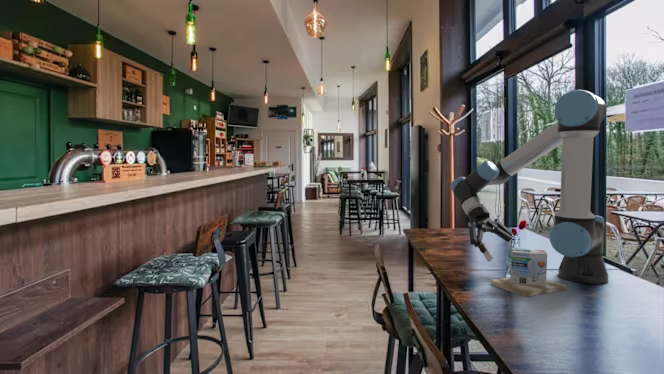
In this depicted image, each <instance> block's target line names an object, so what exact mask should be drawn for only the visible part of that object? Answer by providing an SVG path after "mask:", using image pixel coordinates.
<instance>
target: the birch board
mask: <svg viewBox="0 0 664 374" xmlns="http://www.w3.org/2000/svg"><path fill="white" fill-rule="evenodd" d="M490 285H492V286H494V287H497V288H501V289H503V290H506V291H508V292H511V293H514V294H515V295H519V296H521V297H524V298H528V297H533V296H538V295H539V296H540V295H543V294H544V295H545V294H551V293H554V292H562V291H566V290H567V287H566V286H567V285H566V284H563V283H560V282H556V281H554V280H549V279H547V278H546V287H542V286H534V285H525V284H516V283H511V279H510V276H508V277H501V278H494V279H491V280H490Z"/></svg>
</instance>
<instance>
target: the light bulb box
mask: <svg viewBox="0 0 664 374" xmlns="http://www.w3.org/2000/svg"><path fill="white" fill-rule="evenodd" d="M510 250H511V252H510V270H509V271H510V276H509V277H510V279H511V283H516V284H525V285H534V286H542V287H546V279H547V274H548V273H547V270H548V269H547V268H548V254H547V251H546V250H545V249H533V248H532V249H531V248H520V247H518V248H512V249H510Z"/></svg>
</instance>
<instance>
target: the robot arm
mask: <svg viewBox="0 0 664 374" xmlns="http://www.w3.org/2000/svg"><path fill="white" fill-rule="evenodd" d="M553 112H554V116H555V119H556V122H555V123H553V124H551V125H550V126H549V127H547V128H546V129H545V130H543V131H541V132H540V133H538V134H537V135H536V136H534V137H533V138H532V139H530V140H528V141H527V142H526V143H524V144H523V145H521V146H520V147H518V148H517V149H515V150H514V151H513V152H511V153H510V154H508V155H507V156H506V157H504V158H502V159H501V160H499V161H498V162H497V163H493V162H492V161H490V160H484V161H483V162H482V163H480V164H479V165H478V166H477V167H476V168H475V169H473V171H472V172H471V173H470V174H469V175H467V177H465V176H459V177H457V178H455V179H454V180H452V181H451V183H450V189H451V191H452V194H453V196H454V197H455V199H457V201H458V203H459V204H460V206H461V207H462V210H463V211H464V214H465V215H466V216H467V218H468V220H469V221H468V223H467V224H466V226H467V228H468V232H469V242H470V245H472V246H474V247H475V248H478V250H479V252H480V253H482V254H483V256H484V258H485V259H486V261H487V262H488V263H489V262H491V261H493V259H494V258H495V257H494V256H493V254H492V252H491V251H490V249H489V247H488V245H487V244H486V242H485V241H483V237H484V233H491V234H494V235H496V236H498V237H500V238H501V239H502V240H504V241H505V242H507V243H506V245H507V246H508V248H509V249H510V246H511V240H512V233H513V231H511V229H509V228H508V227H507V226H505V225H504V224H503V223H502V222H501V221H500V220H499V218H495V219H492V218H491V217H490V215H491V214H490V212H489V211H488V209H487V206H485V204H484V203H483V201H482V200H481V199H480V197H479V195H478V193H480V192H481V191H482V190H483V189H484V188H486V187H487V186H493V185H494V186H495V185H497V186H499V185H502V184H505V183H506V182H508V181H509V179H510V178H512V177H513V176H514V175H516V174H517V173H519V172H520V171H522V170H524V169H525V168H526V167H528V166H530V165H531V164H533V163H534V162H536V161H537V160H539V159H540V158H542V157H543V156H545V155H546V154H548V153H550V152H551V151H553V150H554V149H556V148H557V147H559V146H561V145H562V147H561V148H562V149H561V171H560V177H561V178H560V197H559V209H558V211H556V212H555V213H554V217H553V219H554V220H553V227H552V228H551V231H550V233H549V242H550V244H551V247H552V248H553V249H554V251H556V252H557V253H558V254H560V255H561V256H563V257H562V259H561V262H560V264H559V267H558V270H557V271H558V272H557V273H558V276H559V277H560V278H562V279H564V280H568V281H572V282H577V283H583V284H589V285H590V284H594V285H597V284H598V285H599V284H600V285H601V284H606V283H608V282H609V274H608V273H609V272H608V270H607V268H606V263H605V260H604V240H605V239H604V236H605V218H604V217H603V216H601V215H595V214H594V213H592V211H591V202H592V200H591V199H592V198H591V197H592V180H593V178H592V177H593V161H594V160H593V157H594V154H593V153H594V138H595V137H596V136H597V135H598V134H599V133H600V132H601V131H600V128H601V122H603V120H604V119H605V117H606V114H607V105H606V103H605V101H604V99H602V97H600V96H598V95H596V94H594V93H593V92H592V91H589V90H585V89H575V90H570V91H568V92H566V93H565V94H563V95H562V96H560V97H559V98H558V100H557V102H556V103H555V106H554V111H553ZM476 229H477V230H476Z"/></svg>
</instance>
